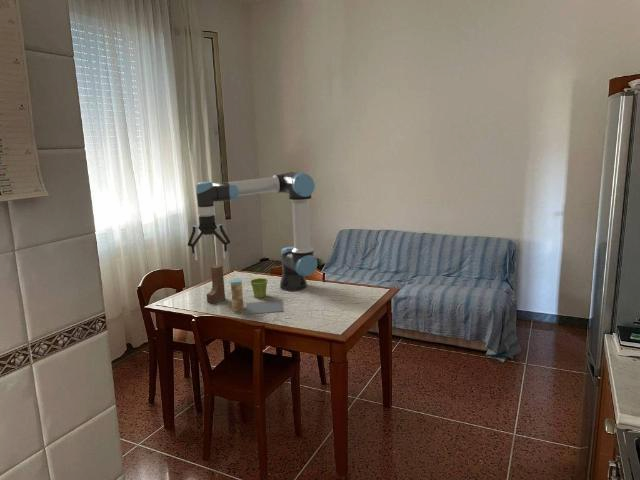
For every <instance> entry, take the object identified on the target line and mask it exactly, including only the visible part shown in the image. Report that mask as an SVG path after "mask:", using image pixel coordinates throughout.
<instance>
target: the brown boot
mask: <svg viewBox="0 0 640 480" xmlns="http://www.w3.org/2000/svg"><path fill="white" fill-rule="evenodd" d="M210 272H211V273H210V274H211V284H212V286H211V290H210V291H209V292H208V293H206V301H207V303H211V304H215V303H218V302H220V301H221V300H224V299H226V292H225V278H224V269H223V265H218V264H216V265H213V266H211V267H210Z"/></svg>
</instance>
